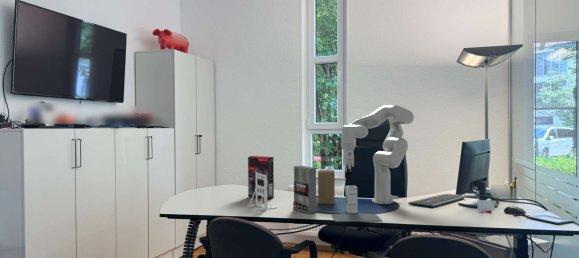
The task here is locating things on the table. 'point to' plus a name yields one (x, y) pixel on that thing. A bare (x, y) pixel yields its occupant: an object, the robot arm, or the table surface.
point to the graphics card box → (262, 167)
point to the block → (326, 187)
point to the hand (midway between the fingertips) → (347, 178)
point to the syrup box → (351, 199)
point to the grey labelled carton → (305, 189)
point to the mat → (355, 217)
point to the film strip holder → (261, 195)
